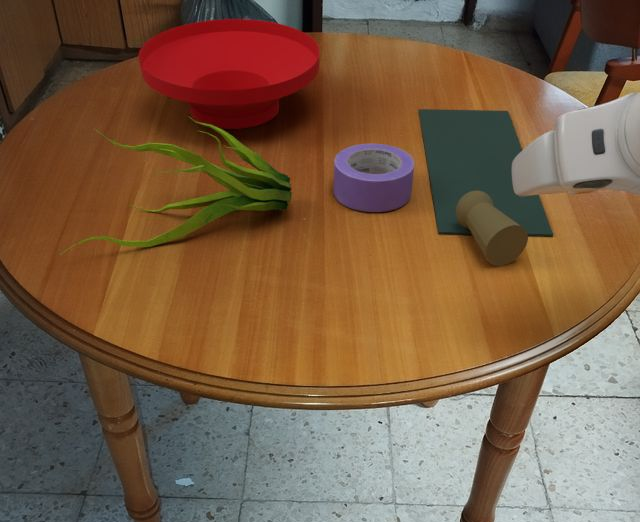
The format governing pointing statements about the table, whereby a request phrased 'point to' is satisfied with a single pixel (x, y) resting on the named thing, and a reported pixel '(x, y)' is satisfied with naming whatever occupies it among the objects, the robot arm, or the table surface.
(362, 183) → the tape roll
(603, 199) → the table surface
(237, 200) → the decorative plant
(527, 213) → the mat
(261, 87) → the bowl
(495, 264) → the olive pawn piece
